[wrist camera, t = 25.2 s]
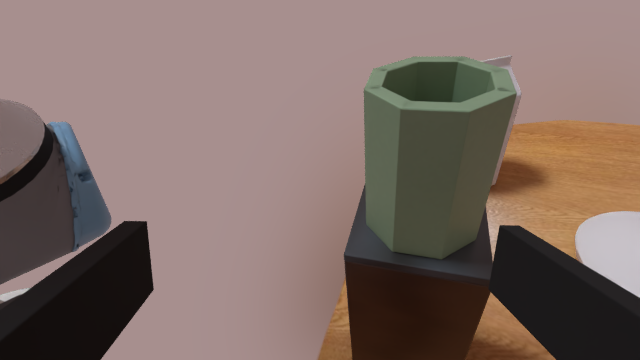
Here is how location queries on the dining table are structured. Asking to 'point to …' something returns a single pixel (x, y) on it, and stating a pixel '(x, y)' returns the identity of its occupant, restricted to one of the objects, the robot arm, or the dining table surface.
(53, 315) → the robot arm
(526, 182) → the dining table surface
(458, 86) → the green octagonal tube
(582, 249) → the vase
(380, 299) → the stand
